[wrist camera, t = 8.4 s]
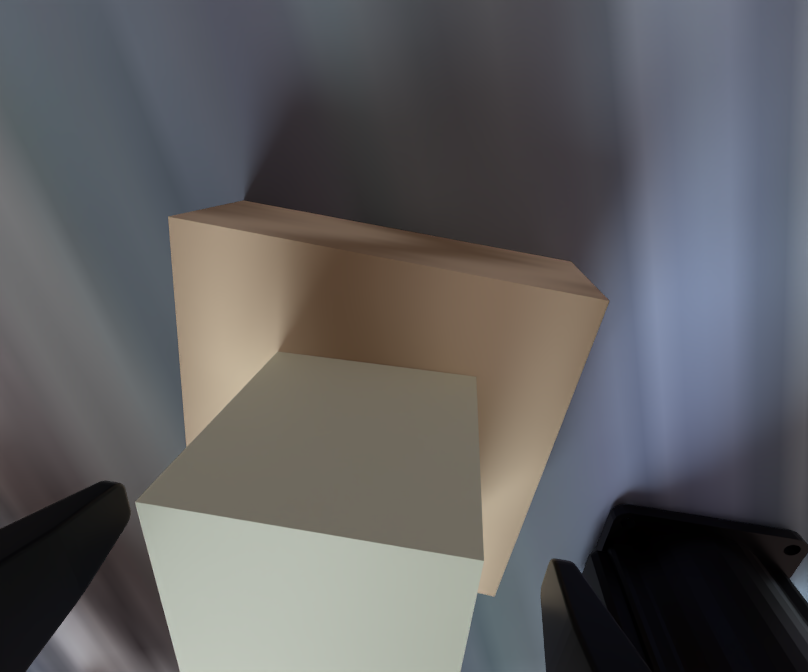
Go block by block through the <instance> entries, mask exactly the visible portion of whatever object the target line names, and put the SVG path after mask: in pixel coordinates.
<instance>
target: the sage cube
mask: <svg viewBox="0 0 808 672" xmlns="http://www.w3.org/2000/svg"><path fill="white" fill-rule="evenodd" d="M135 505H136V508H137V512H138V516H139V520H140V523H141V527H142V531H143V535H144V538H145V542H146V546H147V550H148V553H149V557H150V561H151V565H152V568H153V572H154V576H155V580H156V583H157V587H158V591H159V595H160V598H161V602H162V606H163V610H164V613H165V617H166V621H167V625H168V628H169V632H170V636H171V640H172V643H173V647H174V651H175V655H176V658H177V662H178V666H179V670H180V672H460V671H461V666H462V662H463V657H464V652H465V648H466V643H467V638H468V634H469V629H470V624H471V620H472V615H473V610H474V606H475V601H476V596H477V592H478V587H479V582H480V578H481V573H482V568H483V564H484V547H483V523H482V500H481V476H480V452H479V429H478V405H477V382H476V377H475V376H468V375H460V374H452V373H444V372H436V371H428V370H420V369H412V368H404V367H397V366H389V365H381V364H373V363H365V362H357V361H349V360H341V359H333V358H325V357H318V356H310V355H302V354H294V353H286V352H277V353H276V354H275V355H274V356H273V357H272V358H271V359H270V360H269V361H268V362H267V363H266V364H265V365H264V366H263V368H262V369H261V370H260V371H259V372H258V373H257V374H256V375H255V376H254V377H253V378H252V379H251V380H250V381H249V382H248V383H247V384H246V385H245V386H244V387H243V389H242V390H241V391H240V392H239V393H238V394H237V395H236V396H235V397H234V398H233V399H232V400H231V401H230V402H229V403H228V404H227V405H226V406H225V407H224V409H223V410H222V411H221V412H220V413H219V414H218V415H217V416H216V417H215V418H214V419H213V420H212V421H211V422H210V423H209V424H208V425H207V426H206V427H205V429H204V430H203V431H202V432H201V433H200V434H199V435H198V436H197V437H196V438H195V439H194V440H193V441H192V442H191V443H190V444H189V445H188V446H187V447H186V449H185V450H184V451H183V452H182V453H181V454H180V455H179V456H178V457H177V458H176V459H175V460H174V461H173V462H172V463H171V464H170V465H169V466H168V467H167V468H166V470H165V471H164V472H163V473H162V474H161V475H160V476H159V477H158V478H157V479H156V480H155V481H154V482H153V483H152V484H151V485H150V486H149V487H148V488H147V490H146V491H145V492H144V493H143V494H142V495H141V496H140V497H139V498H138V499H137V500H136V501H135Z"/></svg>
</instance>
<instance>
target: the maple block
mask: <svg viewBox="0 0 808 672" xmlns="http://www.w3.org/2000/svg"><path fill="white" fill-rule="evenodd" d="M168 220H169V233H170V245H171V258H172V271H173V283H174V296H175V308H176V321H177V334H178V346H179V359H180V372H181V384H182V397H183V409H184V422H185V435H186V447H187V446H188V445H189V444H190V443H191V442H192V441H193V440H194V439H195V438H196V437H197V436H198V435H199V434H200V433H201V432H202V431H203V430H204V429H205V427H206V426H207V425H208V424H209V423H210V422H211V421H212V420H213V419H214V418H215V417H216V416H217V415H218V414H219V413H220V412H221V411H222V410H223V409H224V407H225V406H226V405H227V404H228V403H229V402H230V401H231V400H232V399H233V398H234V397H235V396H236V395H237V394H238V393H239V392H240V391H241V390H242V389H243V387H244V386H245V385H246V384H247V383H248V382H249V381H250V380H251V379H252V378H253V377H254V376H255V375H256V374H257V373H258V372H259V371H260V370H261V369H262V368H263V366H264V365H265V364H266V363H267V362H268V361H269V360H270V359H271V358H272V357H273V356H274V355H275V354H276V353H277V352H286V353H294V354H302V355H310V356H318V357H325V358H333V359H341V360H349V361H357V362H365V363H373V364H381V365H389V366H397V367H404V368H412V369H420V370H428V371H436V372H444V373H452V374H460V375H468V376H475V377H476V382H477V405H478V429H479V452H480V476H481V500H482V523H483V547H484V564H483V568H482V573H481V578H480V582H479V587H478V592H477V593H481V594H485V595H490V596H494V597H495V594H496V591H497V589H498V586H499V584H500V581H501V579H502V576H503V573H504V571H505V568H506V566H507V563H508V561H509V558H510V555H511V553H512V550H513V548H514V545H515V543H516V540H517V537H518V535H519V532H520V530H521V527H522V525H523V522H524V519H525V517H526V514H527V512H528V509H529V507H530V504H531V501H532V499H533V496H534V494H535V491H536V489H537V486H538V483H539V481H540V478H541V476H542V473H543V471H544V468H545V465H546V463H547V460H548V458H549V455H550V453H551V450H552V447H553V445H554V442H555V440H556V437H557V435H558V432H559V429H560V427H561V424H562V422H563V419H564V417H565V414H566V411H567V409H568V406H569V404H570V401H571V399H572V396H573V393H574V391H575V388H576V386H577V383H578V381H579V378H580V375H581V373H582V370H583V368H584V365H585V363H586V360H587V357H588V355H589V352H590V350H591V347H592V345H593V342H594V339H595V337H596V334H597V332H598V329H599V327H600V324H601V321H602V319H603V316H604V314H605V311H606V309H607V306H608V303H609V300H608V299H607V298H606V297H605V296H604V295H603V294H602V293H601V292H600V291H599V290H598V289H597V288H596V287H595V286H594V284H593V283H592V282H591V281H590V280H589V279H588V278H587V277H586V276H585V275H584V274H583V273H582V272H581V271H580V270H579V269H578V268H577V267H576V266H575V265H574V264H573V263H572V262H571V261H565V260H560V259H555V258H549V257H544V256H538V255H533V254H528V253H522V252H517V251H512V250H506V249H501V248H496V247H490V246H485V245H480V244H474V243H469V242H463V241H458V240H453V239H447V238H442V237H437V236H431V235H426V234H421V233H415V232H410V231H404V230H399V229H394V228H388V227H383V226H378V225H372V224H367V223H362V222H356V221H351V220H346V219H340V218H335V217H329V216H324V215H319V214H313V213H308V212H303V211H297V210H292V209H287V208H281V207H276V206H270V205H265V204H260V203H254V202H249V201H239V202H234V203H230V204H225V205H220V206H216V207H211V208H206V209H202V210H197V211H192V212H187V213H183V214H178V215H173V216H169V217H168Z"/></svg>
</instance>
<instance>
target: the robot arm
mask: <svg viewBox="0 0 808 672" xmlns="http://www.w3.org/2000/svg"><path fill="white" fill-rule="evenodd" d="M130 515H131V509H130V505H129V501H128V497H127V494H126V490H125V487H124V485H122V484H121V483H117V482H111V481H101V482H98V483H96V484H94V485H92V486H90V487H87V488H85V489H83V490H81V491H79V492H77V493H75V494H73V495H71V496H69V497H66V498H64V499H62V500H60V501H58V502H56V503H54V504H52V505H50V506H48V507H45V508H43V509H41V510H39V511H37V512H35V513H33V514H31V515H29V516H27V517H24V518H22V519H20V520H18V521H16V522H14V523H12V524H10V525H8V526H6V527H3V528H1V529H0V672H26V670H27V669H28V668H29V666H30V665H31V664H32V662H33V661H34V660H35V658H36V657H37V656H38V654H39V653H40V652H41V650H42V649H43V648H44V646H45V645H46V644H47V642H48V641H49V640H50V638H51V637H52V636H53V634H54V633H55V631H56V630H57V629H58V627H59V626H60V625H61V623H62V622H63V621H64V619H65V618H66V617H67V615H68V614H69V613H70V611H71V610H72V609H73V607H74V606H75V604H76V603H77V602H78V600H79V599H80V597H81V596H82V595H83V593H84V592H85V590H86V589H87V587H88V585H89V584H90V582H91V581H92V579H93V578H94V576H95V574H96V573H97V571H98V570H99V568H100V566H101V565H102V563H103V562H104V560H105V558H106V557H107V555H108V554H109V552H110V550H111V549H112V547H113V546H114V544H115V542H116V541H117V539H118V538H119V536H120V534H121V533H122V531H123V530H124V528H125V526H126V525H127V523H128V521H129V518H130ZM625 518H629V519H626V520H623V519H625ZM807 553H808V544H807V543H806V542H805V541H804V540H803V538H802V537H801V536H800V535H799V534H798V533H797V532H794V531H791V530H785V529H779V528H772V527H766V526H760V525H754V524H747V523H741V522H735V521H728V520H722V519H716V518H710V517H703V516H697V515H691V514H684V513H678V512H672V511H666V510H659V509H653V508H647V507H641V506H634V505H627V504H622V505H618V506H616V507H614V508H613V509H612V510H611V511H610V513H609V516H608V518H607V521H606V524H605V526H604V529H603V531H602V534H601V536H600V539H599V542H598V544H597V547H596V549H595V550H594V551H593V552H592V553H591V554H590V555H589V557H588V560H587V562H586V565H585V568H584V570H583V573H581V572H580V570H579V569H578V568H577V566H576V565H575V564H574V563H573V562H571V561H567V560H561V559H551V560H550V562H549V565H548V568H547V571H546V574H545V577H544V580H543V583H542V586H541V608H542V622H543V636H544V649H545V663H546V672H808V603H807V601H806V600H805V599H804V597H803V596H802V595H801V593H800V592H799V591H798V590H797V588H796V587H795V586H794V584H793V583H792V582H791V580H790V577H791V576H792V575H793V573H794V572H795V570H796V569H797V567H798V566H799V565H800V563H801V562H802V560H803V559H804V557H805V556H806V554H807Z"/></svg>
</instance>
